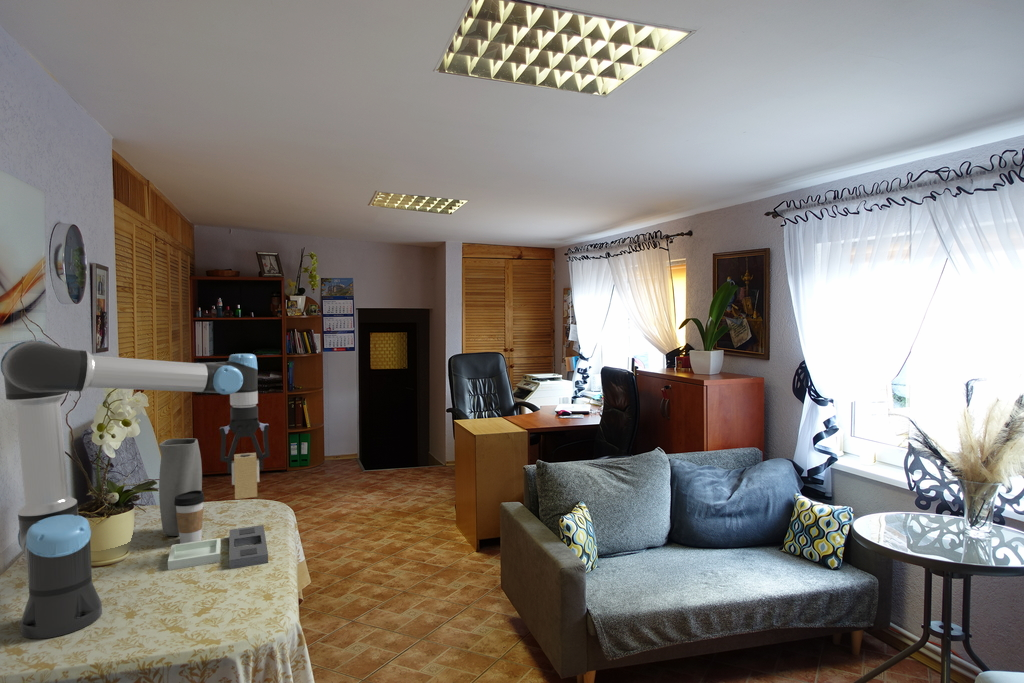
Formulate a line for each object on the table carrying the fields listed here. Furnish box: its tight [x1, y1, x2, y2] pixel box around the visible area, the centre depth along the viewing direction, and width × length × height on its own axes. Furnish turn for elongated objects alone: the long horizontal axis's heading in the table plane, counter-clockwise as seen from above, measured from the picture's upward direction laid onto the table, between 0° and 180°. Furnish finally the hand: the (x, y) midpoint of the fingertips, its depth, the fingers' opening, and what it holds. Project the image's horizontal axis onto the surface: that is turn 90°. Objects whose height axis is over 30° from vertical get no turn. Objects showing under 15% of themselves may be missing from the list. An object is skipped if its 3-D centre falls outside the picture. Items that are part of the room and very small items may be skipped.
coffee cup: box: [174, 490, 205, 544], centre depth 188 cm, size 8×8×15 cm
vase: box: [158, 437, 203, 537], centre depth 195 cm, size 12×12×30 cm
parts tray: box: [167, 537, 222, 571], centre depth 176 cm, size 13×13×2 cm
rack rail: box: [228, 524, 269, 570], centre depth 182 cm, size 26×10×3 cm, turn 25°
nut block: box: [233, 452, 258, 500], centre depth 181 cm, size 6×6×12 cm
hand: (245, 482), depth 181 cm, fingers closed on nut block, 6 cm apart
